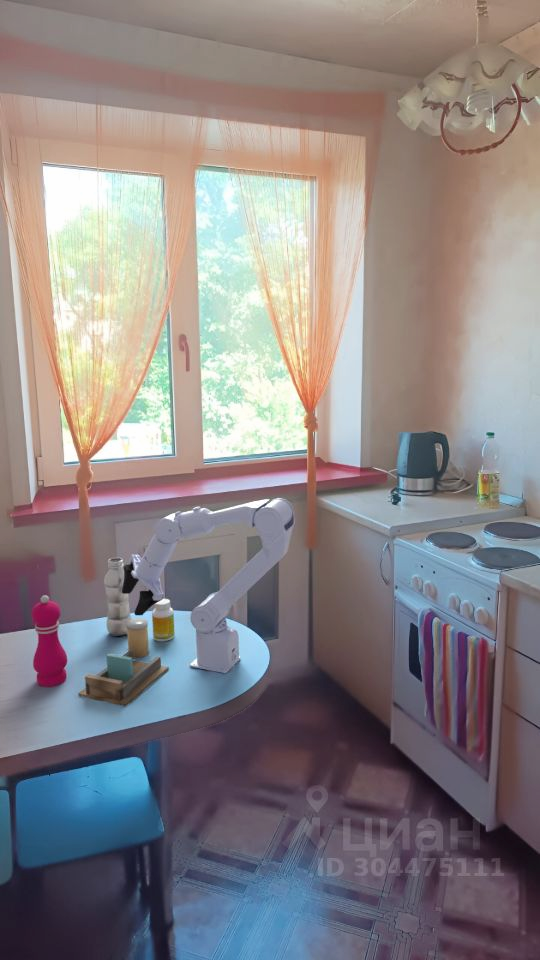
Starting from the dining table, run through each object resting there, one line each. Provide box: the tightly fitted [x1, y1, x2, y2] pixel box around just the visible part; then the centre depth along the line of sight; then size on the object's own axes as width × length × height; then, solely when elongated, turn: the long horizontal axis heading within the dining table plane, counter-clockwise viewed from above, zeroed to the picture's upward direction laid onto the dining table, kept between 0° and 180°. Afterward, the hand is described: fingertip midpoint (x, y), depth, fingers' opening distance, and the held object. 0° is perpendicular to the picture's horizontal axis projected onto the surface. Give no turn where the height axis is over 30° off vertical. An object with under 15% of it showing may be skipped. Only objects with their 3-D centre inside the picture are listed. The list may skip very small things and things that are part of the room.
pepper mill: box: [31, 594, 68, 688], centre depth 143 cm, size 7×7×20 cm
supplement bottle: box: [151, 598, 176, 642], centre depth 165 cm, size 5×5×10 cm
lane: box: [77, 650, 170, 707], centre depth 143 cm, size 12×17×4 cm
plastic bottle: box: [103, 557, 133, 637], centre depth 167 cm, size 6×7×20 cm
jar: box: [126, 617, 150, 659], centre depth 156 cm, size 5×5×8 cm
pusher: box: [106, 653, 134, 683], centre depth 141 cm, size 6×1×6 cm, turn 68°
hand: (131, 603), depth 156 cm, fingers open, 7 cm apart
